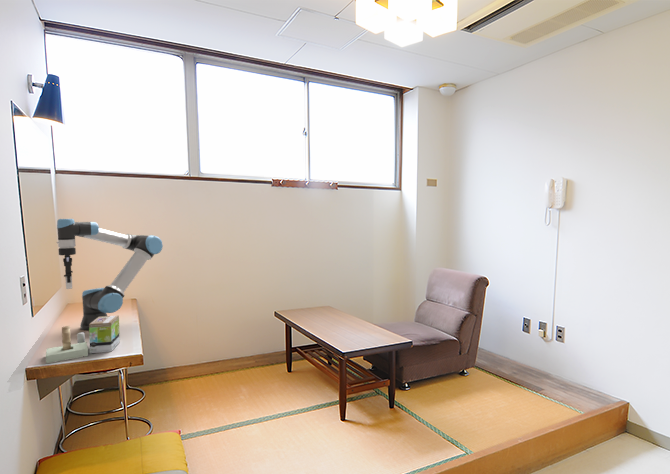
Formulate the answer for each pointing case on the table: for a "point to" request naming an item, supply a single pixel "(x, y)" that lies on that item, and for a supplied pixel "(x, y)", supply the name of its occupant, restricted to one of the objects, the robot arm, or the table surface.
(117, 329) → the tea box
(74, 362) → the table surface
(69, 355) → the hole plate
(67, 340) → the long dowel
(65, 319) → the table surface
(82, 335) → the short rod
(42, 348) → the table surface
